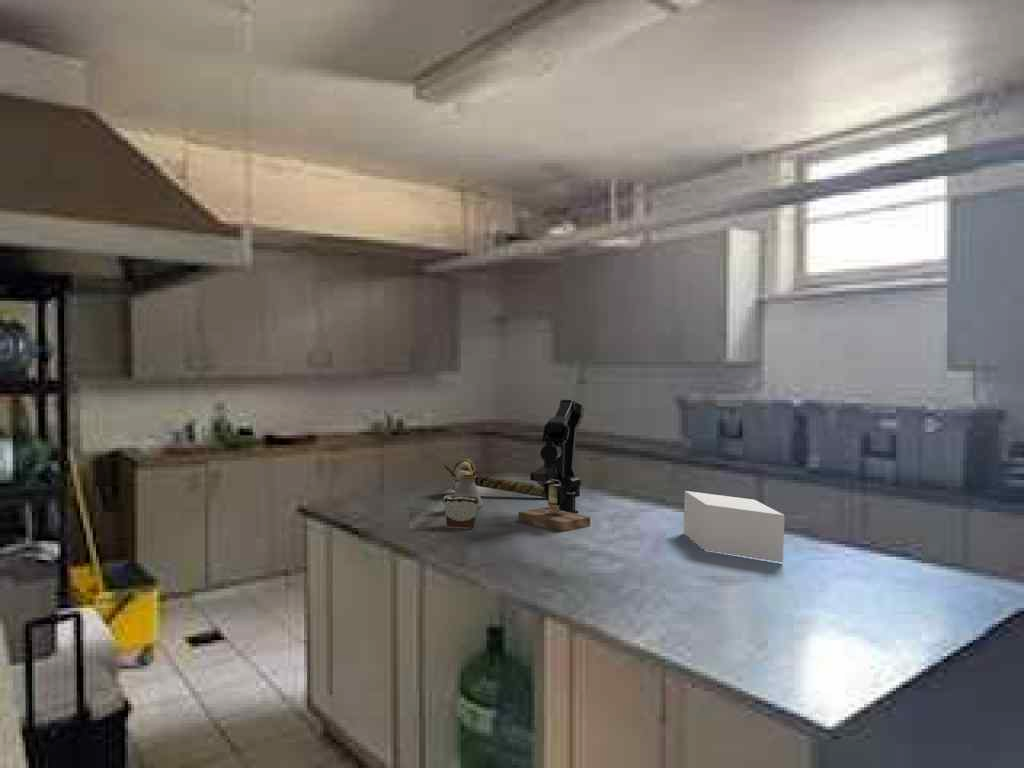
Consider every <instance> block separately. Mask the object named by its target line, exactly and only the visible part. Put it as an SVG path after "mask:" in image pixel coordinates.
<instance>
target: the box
mask: <svg viewBox="0 0 1024 768" xmlns="http://www.w3.org/2000/svg"><path fill="white" fill-rule="evenodd" d="M683 502H684V504H683V506H684V507H683V533H684V534H686V535H687V536H688V537H689V538H690V539H692V540H693V541H694V542H695V543H697V544H698V545H699V546H700V547H702V548H703V549H704V550H708V551H713V552H721V553H726V554H732V555H740V556H746V557H752V558H758V559H765V560H771V561H778V562H783V563H784V544H785V543H784V541H785V538H784V537H785V536H784V535H785V518H786V517H785V514H783V513H782V512H779V511H778V510H775V509H773V508H771V507H769V506H767V505H765V504H764V503H762V502H760V501H758V500H756V499H753V498H752V499H750V498H746V497H745V498H744V497H736V496H728V495H721V494H713V493H705V492H696V491H689V490H688V491H687V490H684V501H683ZM684 534H683V535H684ZM686 535H685V536H686ZM687 536H686V537H687ZM688 537H687V538H688ZM689 538H688V539H689ZM690 539H689V540H690ZM692 540H691V541H692ZM693 541H692V542H693ZM694 542H693V543H694ZM695 543H694V544H695ZM699 546H698V547H699ZM700 547H699V548H700Z"/></svg>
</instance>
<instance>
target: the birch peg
mask: <svg viewBox="0 0 1024 768" xmlns="http://www.w3.org/2000/svg"><path fill="white" fill-rule="evenodd" d="M555 486H559V485H557V484H550V485H549V500H548V501H547V505H548V508H549V512H551V513H558V512H559V507H560V506H558V502H557V489H556V487H555Z"/></svg>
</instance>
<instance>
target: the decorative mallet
mask: <svg viewBox="0 0 1024 768" xmlns="http://www.w3.org/2000/svg"><path fill="white" fill-rule="evenodd" d="M452 471H453V472H454V473H455V474H456V475H457V477H458V478H459V476H460V475H476V476H477V477H476V478H475V484H476V487H477V486H478V487H481V488H488V489H492V490H499V491H503V492H504V491H505V492H510V493H511V492H512V493H518V494H523V495H526V496H527V495H529V496H534V497H541V498H546V495H545V491H544V489H543V487H542V486H541V485H540V484H534V483H533V484H532V483H528V482H521V481H515V480H509V479H503V478H502V479H501V478H497V477H490V476H488V475H481V474H480V473H478V472H477V468H476V466H475V463H474V462H473V461H472V460H471V459H469V458H464V459H461V460H459V461H457V462H456V463H455V464H454V465H453V469H452ZM450 476H451V478H452V488H453V490H454V494H455V493H456V491H457V489H458V486H459V484H460V482H459V481H458V480H457V479H456V478H455V477H454V476H453V475H452V474H451V473H450ZM459 479H460V478H459ZM546 499H547V498H546Z"/></svg>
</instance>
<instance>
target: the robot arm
mask: <svg viewBox="0 0 1024 768" xmlns="http://www.w3.org/2000/svg"><path fill="white" fill-rule="evenodd" d="M584 416H585V410H584V407H583V405H582V404H580V403H578V402H576V400H574V399H560V402H559V406H558V409H557V412H556V413H555V415H554V417H551V418H549V419H548V421H547V422H546V424H545V425H544V429H543V434H542V439H541V442H542V443H545V444H546V445H544V446H542V448H540V449H541V450H540V453H539V455H540V458H541V460H543V461H544V462H543V466H541V467H539V468H538V469H537V470H535V471H532V472H531V473H530V475H529V476H530V478H529V479H530V481H533V482H536V483H537V485H540V486H542V487H543V489H544V491H545V495H546V500H547V502H548V500H549V485H550V484H557V485H559V486H555V487H556V489H557V502H558V506H560V507H559V510H561V511H565V512H570V513H574V514H577V513H579V510H577V509H576V498H577V497H581V488H580V487H582V480H581V478H580V477H578V476H577V474H576V472H575V470H574V466H575V465H574V464H575V463H574V462H575V452H576V441H577V431H578V430H577V429H578V428H579V427H580V426H581V424H582V421H583V418H584Z"/></svg>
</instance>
